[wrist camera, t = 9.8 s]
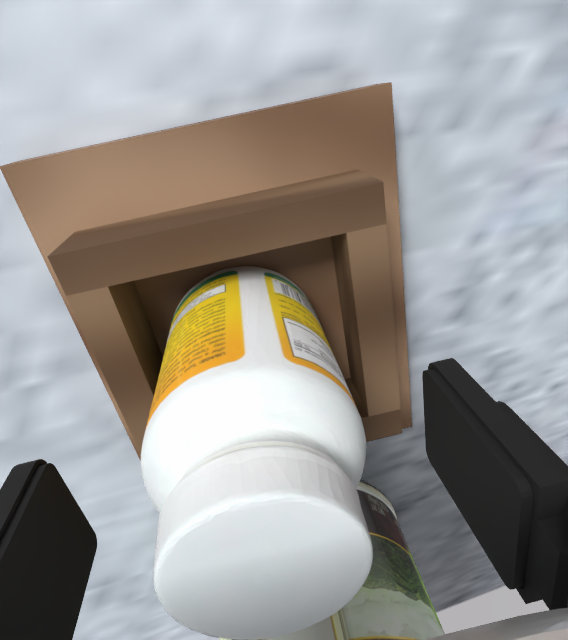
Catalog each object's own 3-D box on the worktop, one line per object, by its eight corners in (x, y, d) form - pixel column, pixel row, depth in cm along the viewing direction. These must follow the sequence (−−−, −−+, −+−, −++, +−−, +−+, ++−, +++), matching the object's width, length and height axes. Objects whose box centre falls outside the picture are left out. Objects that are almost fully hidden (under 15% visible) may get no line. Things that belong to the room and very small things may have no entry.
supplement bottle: (323, 267, 16) (451, 463, 7) (304, 389, 18) (380, 649, 9) (170, 256, 15) (101, 467, 6) (170, 387, 17) (119, 673, 8)
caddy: (402, 409, 21) (436, 467, 17) (157, 468, 20) (145, 538, 17) (378, 83, 14) (425, 78, 11) (16, 161, 14) (-48, 180, 10)
